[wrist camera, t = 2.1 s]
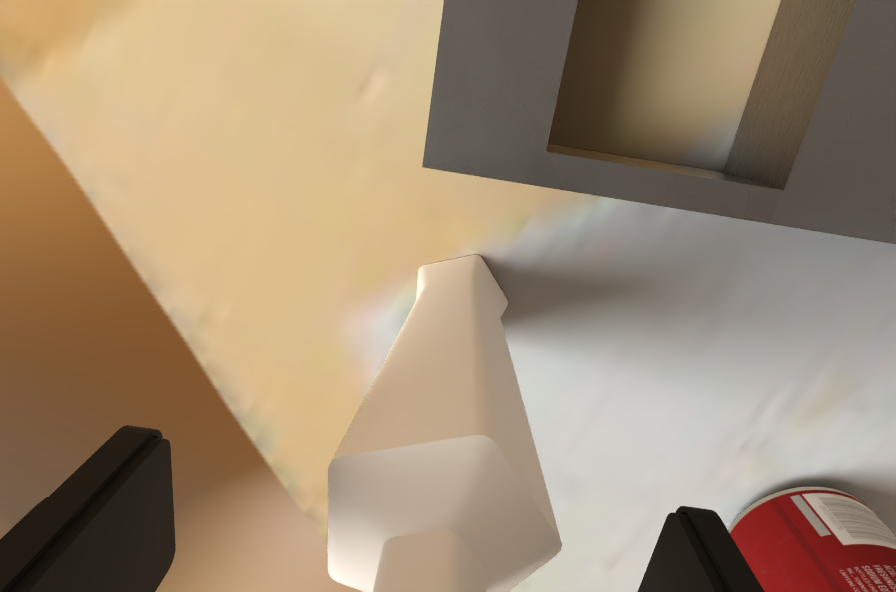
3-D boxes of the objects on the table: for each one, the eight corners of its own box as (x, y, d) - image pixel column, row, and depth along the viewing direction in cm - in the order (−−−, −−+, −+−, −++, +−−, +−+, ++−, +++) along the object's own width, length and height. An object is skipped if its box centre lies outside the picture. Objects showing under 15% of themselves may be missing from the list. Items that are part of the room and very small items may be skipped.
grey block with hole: (1181, -31, 16) (1394, -70, 12) (1021, 249, 19) (1152, 285, 15) (474, -146, 16) (473, -220, 12) (433, 154, 19) (422, 167, 15)
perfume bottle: (509, 355, 22) (563, 806, 8) (406, 344, 22) (279, 773, 8) (524, 250, 20) (625, 586, 6) (413, 239, 20) (267, 547, 6)
